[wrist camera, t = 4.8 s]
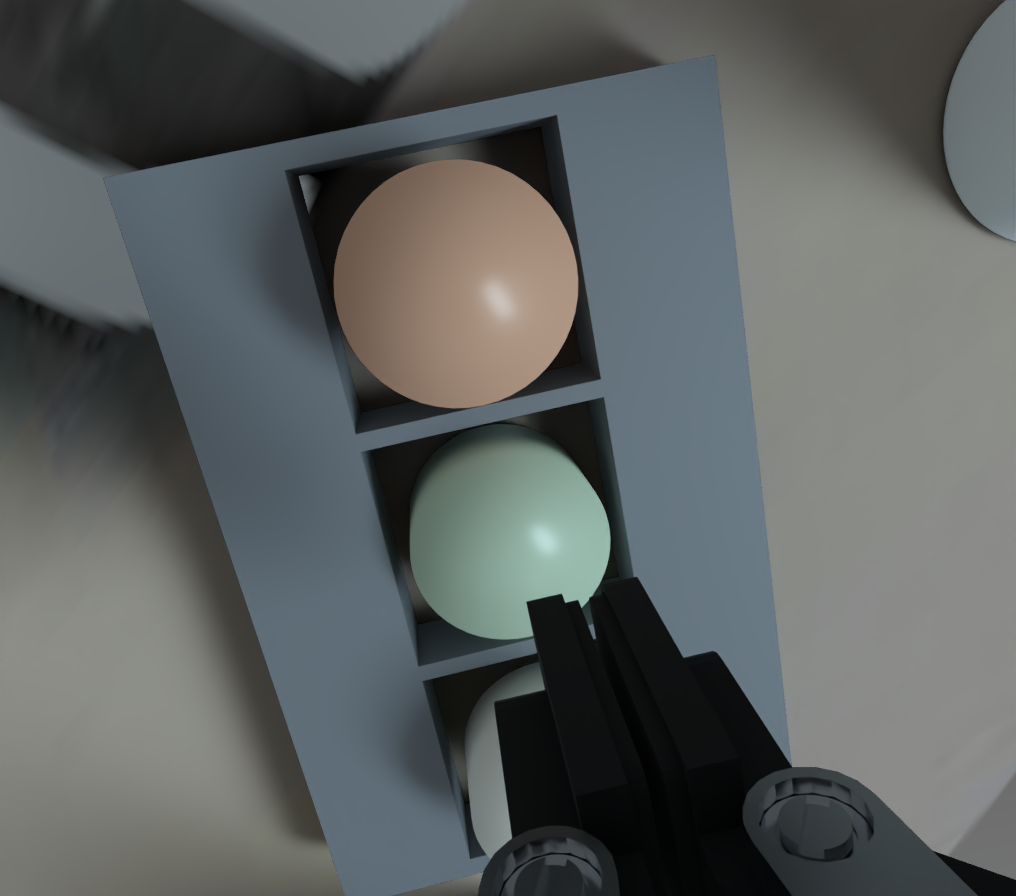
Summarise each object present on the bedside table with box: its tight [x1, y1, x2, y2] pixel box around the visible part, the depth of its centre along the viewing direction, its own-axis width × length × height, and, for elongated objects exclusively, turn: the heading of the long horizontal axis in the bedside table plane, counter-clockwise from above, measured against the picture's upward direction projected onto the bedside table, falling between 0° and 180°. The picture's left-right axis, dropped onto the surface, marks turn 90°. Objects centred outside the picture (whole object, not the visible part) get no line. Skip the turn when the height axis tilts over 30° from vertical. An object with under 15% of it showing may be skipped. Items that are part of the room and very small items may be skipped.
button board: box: [103, 55, 792, 896], centre depth 19 cm, size 12×18×2 cm, turn 11°
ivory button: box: [464, 662, 545, 859], centre depth 19 cm, size 4×4×2 cm
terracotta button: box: [334, 159, 578, 408], centre depth 15 cm, size 4×4×2 cm
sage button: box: [410, 424, 610, 640], centre depth 18 cm, size 4×4×2 cm
